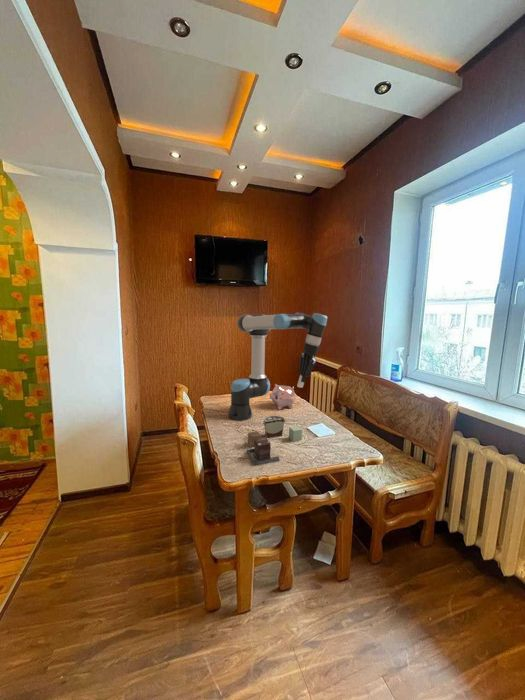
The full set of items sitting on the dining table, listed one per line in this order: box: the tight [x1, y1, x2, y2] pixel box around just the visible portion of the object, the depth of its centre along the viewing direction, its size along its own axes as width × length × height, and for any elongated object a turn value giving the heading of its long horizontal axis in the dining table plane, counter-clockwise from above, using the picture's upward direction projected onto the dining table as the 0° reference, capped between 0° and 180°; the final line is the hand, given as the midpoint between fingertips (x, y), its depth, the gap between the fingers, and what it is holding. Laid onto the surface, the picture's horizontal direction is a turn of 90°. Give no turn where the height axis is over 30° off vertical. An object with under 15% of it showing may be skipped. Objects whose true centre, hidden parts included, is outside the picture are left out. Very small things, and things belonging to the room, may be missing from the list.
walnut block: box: [247, 430, 262, 449], centre depth 140 cm, size 5×5×6 cm
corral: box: [245, 447, 280, 466], centre depth 129 cm, size 11×12×2 cm
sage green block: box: [288, 425, 303, 442], centre depth 147 cm, size 5×5×6 cm
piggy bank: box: [269, 383, 296, 410], centre depth 194 cm, size 15×18×16 cm
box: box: [253, 437, 272, 460], centre depth 129 cm, size 6×6×7 cm
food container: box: [262, 415, 286, 440], centre depth 151 cm, size 12×6×10 cm, turn 111°
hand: (299, 386), depth 144 cm, fingers closed
